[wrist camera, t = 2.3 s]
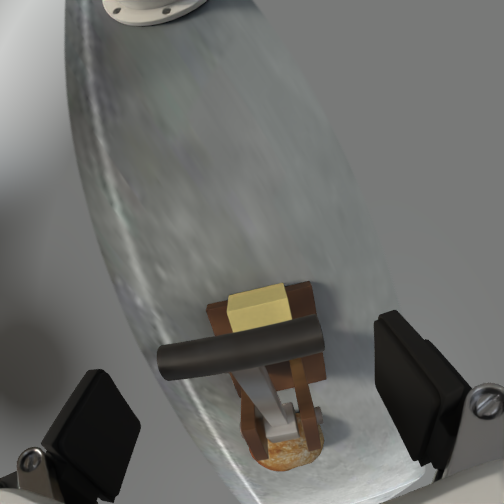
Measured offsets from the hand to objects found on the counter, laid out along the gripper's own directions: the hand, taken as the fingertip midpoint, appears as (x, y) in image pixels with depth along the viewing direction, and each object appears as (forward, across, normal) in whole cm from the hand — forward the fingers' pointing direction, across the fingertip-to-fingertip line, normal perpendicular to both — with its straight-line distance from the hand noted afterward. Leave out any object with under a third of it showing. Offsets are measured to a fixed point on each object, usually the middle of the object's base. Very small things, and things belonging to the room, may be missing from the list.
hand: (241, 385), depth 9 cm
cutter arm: (+6, 0, +5) cm, 8 cm away
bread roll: (+18, +2, +27) cm, 33 cm away
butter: (+17, 0, +6) cm, 18 cm away
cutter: (+18, 0, +11) cm, 21 cm away
